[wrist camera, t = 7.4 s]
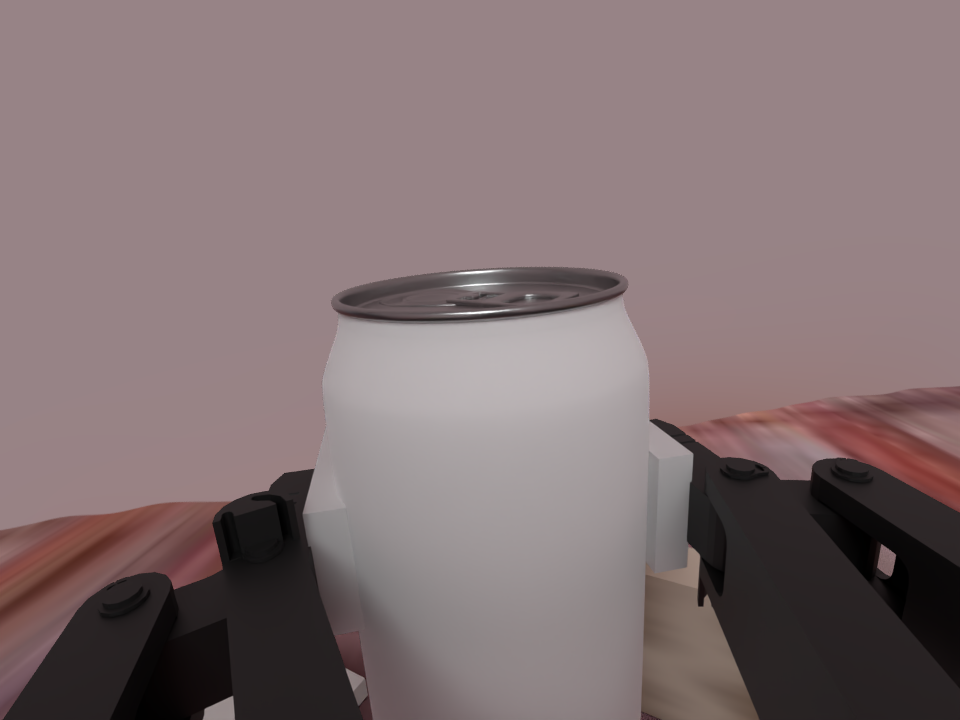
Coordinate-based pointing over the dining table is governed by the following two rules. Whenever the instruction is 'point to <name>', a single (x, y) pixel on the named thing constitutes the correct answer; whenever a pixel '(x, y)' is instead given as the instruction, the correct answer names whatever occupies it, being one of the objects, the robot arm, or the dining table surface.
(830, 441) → the dining table surface
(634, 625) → the can
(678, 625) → the beige brown patterned panel
